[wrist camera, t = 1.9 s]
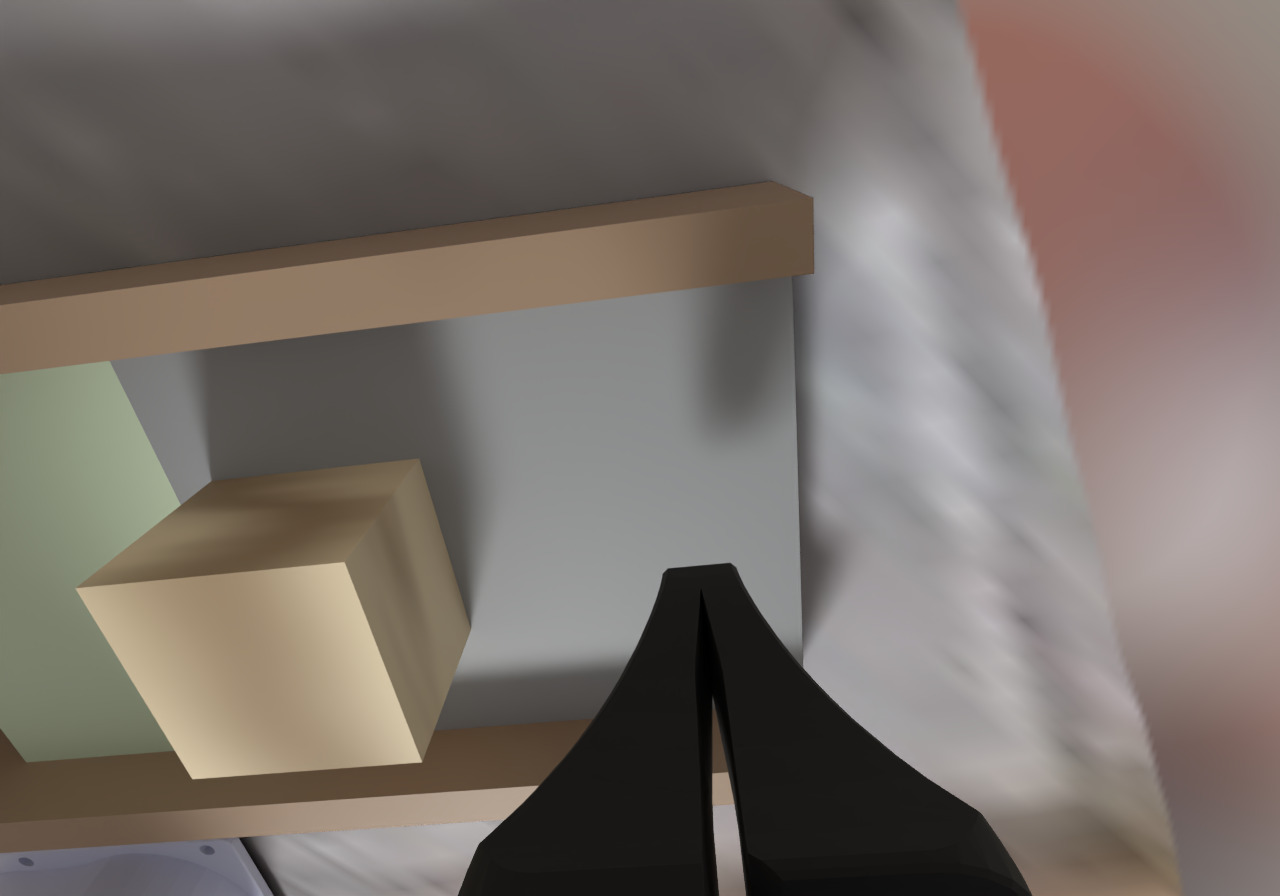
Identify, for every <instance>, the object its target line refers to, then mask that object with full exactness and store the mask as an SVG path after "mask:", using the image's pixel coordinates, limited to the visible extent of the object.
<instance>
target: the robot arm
mask: <svg viewBox="0 0 1280 896" xmlns="http://www.w3.org/2000/svg"><path fill="white" fill-rule="evenodd" d="M713 700H714V705H715V710H716V715H717V720H718V725H719V730H720V735H721V740H722V745H723V750H724V755H725V759H726V764H727V769H728V774H729V779H730V784H731V789H732V794H733V799H734V804H735V810H736V816H737V822H738V829H739V837H740V846H741V854H742V863H743V872H744V881H745V889H746V896H1032V894H1031V892H1030V890H1029V888H1028V886H1027V884H1026V882H1025V880H1024V878H1023V876H1022V875H1021V873H1020V871H1019V869H1018V868H1017V866H1016V864H1015V863H1014V861H1013V860H1012V858H1011V857H1010V855H1009V853H1008V852H1007V850H1006V849H1005V847H1004V846H1003V844H1002V842H1001V841H1000V839H999V838H998V837H997V835H996V834H995V832H994V831H993V829H992V828H991V826H990V825H989V824H988V822H987V821H986V819H985V818H984V817H983V815H982V814H981V813H980V812H979V811H977V810H976V809H974V808H973V807H971V806H969V805H968V804H966V803H965V802H963V801H962V800H960V799H959V798H957V797H955V796H954V795H952V794H951V793H949V792H948V791H946V790H945V789H943V788H941V787H940V786H938V785H937V784H935V783H934V782H932V781H931V780H929V779H927V778H926V777H925V776H923V775H922V774H921V773H919V772H918V771H917V770H915V769H914V768H913V767H911V766H910V765H909V764H907V763H906V762H905V761H903V760H902V759H901V758H899V757H898V756H896V755H895V754H894V753H893V752H892V751H890V750H889V749H888V748H887V747H886V746H884V745H883V744H882V743H881V742H880V741H878V740H877V739H876V738H875V737H874V736H873V735H871V734H870V733H869V732H868V731H867V730H865V729H864V728H863V727H862V726H861V725H859V724H858V723H857V722H856V721H855V720H854V719H852V718H851V717H850V716H849V715H848V714H847V713H846V712H845V711H844V710H843V709H842V708H841V707H840V706H839V705H838V704H837V703H836V702H835V701H834V700H832V698H831V697H830V696H829V695H828V694H827V693H826V692H825V691H824V690H823V689H822V688H821V687H820V686H819V685H818V684H817V683H816V682H815V681H814V680H813V679H812V678H811V676H810V675H809V674H808V673H807V672H806V671H805V670H804V669H803V667H802V666H801V665H800V664H799V663H798V662H797V660H796V659H795V658H794V657H793V655H792V654H791V653H790V652H789V651H788V649H787V648H786V647H785V646H784V644H783V643H782V642H781V640H780V639H779V638H778V636H777V635H776V634H775V632H774V631H773V629H772V628H771V627H770V625H769V624H768V622H767V621H766V620H765V618H764V617H763V615H762V614H761V612H760V611H759V609H758V608H757V606H756V604H755V603H754V601H753V599H752V598H751V596H750V594H749V593H748V591H747V589H746V587H745V586H744V584H743V582H742V580H741V577H740V575H739V573H738V570H737V567H735V566H734V565H733V564H732V563H721V564H710V565H699V566H688V567H677V568H668V569H667V570H666V571H665V572H664V573H663V574H662V580H661V584H660V588H659V591H658V595H657V598H656V601H655V603H654V606H653V609H652V612H651V614H650V617H649V619H648V621H647V624H646V626H645V628H644V631H643V633H642V635H641V637H640V640H639V642H638V644H637V646H636V648H635V650H634V652H633V654H632V656H631V658H630V660H629V661H628V663H627V665H626V667H625V669H624V671H623V673H622V675H621V677H620V678H619V680H618V682H617V683H616V685H615V687H614V688H613V690H612V692H611V693H610V695H609V697H608V698H607V700H606V701H605V703H604V704H603V706H602V707H601V709H600V710H599V712H598V713H597V715H596V716H595V718H594V719H593V720H592V722H591V723H590V724H589V726H588V727H587V729H586V730H585V731H584V733H583V734H582V735H581V737H580V738H579V739H578V741H577V742H576V743H575V745H574V746H573V747H572V748H571V750H570V751H569V752H568V753H567V755H566V756H565V757H564V758H563V759H562V760H561V762H560V763H559V764H558V765H557V766H556V767H555V768H554V769H553V771H552V772H551V773H550V774H549V775H548V776H547V777H546V778H545V780H544V781H543V782H542V783H541V784H540V785H539V786H538V787H537V788H536V790H535V791H534V792H533V793H532V794H531V795H530V796H529V797H528V798H527V799H526V800H525V801H524V802H523V803H522V804H521V805H520V806H519V807H518V808H517V809H516V810H515V811H514V812H513V813H512V814H511V815H510V816H508V817H507V818H506V819H505V820H504V821H503V822H502V823H501V824H500V825H499V826H498V827H497V828H496V829H495V830H494V831H493V832H492V833H490V834H489V835H488V836H487V837H486V838H485V839H484V840H483V841H482V842H480V843H479V845H478V847H477V849H476V852H475V854H474V856H473V859H472V861H471V863H470V866H469V868H468V870H467V873H466V876H465V878H464V881H463V884H462V886H461V889H460V891H459V894H458V896H719V890H718V878H717V866H716V855H715V843H714V831H713V806H712V772H713ZM0 896H274V895H273V894H272V892H271V891H270V889H269V887H268V886H267V884H266V882H265V881H264V879H263V877H262V876H261V874H260V872H259V871H258V869H257V867H256V866H255V864H254V862H253V861H252V859H251V857H250V856H249V854H248V852H247V851H246V849H245V847H244V846H243V844H242V842H241V841H240V839H239V838H238V837H235V838H220V839H205V840H190V841H175V842H160V843H145V844H130V845H115V846H100V847H85V848H70V849H55V850H40V851H25V852H10V853H0Z"/></svg>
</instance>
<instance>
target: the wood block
mask: <svg viewBox="0 0 1280 896" xmlns="http://www.w3.org/2000/svg"><path fill="white" fill-rule="evenodd" d="M75 589H76V591H77V592H78V594H79V595H80V597H81V599H82V600H83V602H84V604H85V605H86V607H87V608H88V610H89V612H90V613H91V615H92V617H93V618H94V620H95V622H96V623H97V625H98V626H99V628H100V630H101V631H102V633H103V635H104V636H105V638H106V639H107V641H108V643H109V644H110V646H111V648H112V649H113V651H114V652H115V654H116V656H117V657H118V659H119V661H120V662H121V664H122V665H123V667H124V669H125V670H126V672H127V674H128V675H129V677H130V679H131V680H132V682H133V683H134V685H135V687H136V688H137V690H138V692H139V693H140V695H141V696H142V698H143V700H144V701H145V703H146V705H147V706H148V708H149V709H150V711H151V713H152V714H153V716H154V718H155V719H156V721H157V722H158V724H159V726H160V727H161V729H162V731H163V732H164V734H165V736H166V737H167V739H168V740H169V742H170V744H171V745H172V747H173V749H174V750H175V752H176V753H177V755H178V757H179V758H180V760H181V762H182V763H183V765H184V766H185V768H186V770H187V771H188V773H189V775H190V776H191V778H192V779H204V778H217V777H231V776H244V775H258V774H272V773H285V772H299V771H312V770H326V769H339V768H353V767H366V766H380V765H394V764H407V763H421V762H423V759H424V756H425V753H426V751H427V748H428V745H429V743H430V740H431V737H432V734H433V732H434V729H435V726H436V724H437V721H438V718H439V715H440V713H441V710H442V707H443V705H444V702H445V699H446V696H447V694H448V691H449V688H450V686H451V683H452V680H453V677H454V675H455V672H456V669H457V667H458V664H459V661H460V658H461V656H462V653H463V650H464V648H465V645H466V642H467V639H468V637H469V634H470V631H471V627H470V624H469V621H468V617H467V614H466V611H465V608H464V604H463V601H462V598H461V594H460V591H459V588H458V585H457V581H456V578H455V575H454V571H453V568H452V565H451V562H450V558H449V555H448V552H447V548H446V545H445V542H444V539H443V535H442V532H441V529H440V525H439V522H438V519H437V516H436V512H435V509H434V506H433V502H432V499H431V496H430V493H429V489H428V486H427V483H426V479H425V476H424V473H423V470H422V466H421V463H420V460H419V459H410V460H401V461H392V462H383V463H373V464H364V465H355V466H346V467H336V468H327V469H318V470H309V471H300V472H290V473H281V474H272V475H263V476H253V477H244V478H235V479H226V480H217V481H211V482H210V483H208V484H207V485H206V486H205V487H203V488H202V489H201V490H199V491H198V492H197V493H196V494H194V495H193V496H192V497H191V498H189V499H188V500H187V501H186V502H184V503H183V504H182V505H180V506H179V507H178V508H177V509H175V510H174V511H173V512H172V513H170V514H169V515H168V516H166V517H165V518H164V519H163V520H161V521H160V522H159V523H158V524H156V525H155V526H154V527H152V528H151V529H150V530H149V531H147V532H146V533H145V534H144V535H142V536H141V537H140V538H139V539H137V540H136V541H135V542H133V543H132V544H131V545H130V546H128V547H127V548H126V549H125V550H123V551H122V552H121V553H119V554H118V555H117V556H116V557H114V558H113V559H112V560H111V561H109V562H108V563H107V564H106V565H104V566H103V567H102V568H100V569H99V570H98V571H97V572H95V573H94V574H93V575H92V576H90V577H89V578H88V579H86V580H85V581H84V582H83V583H81V584H80V585H79V586H78V587H76V588H75Z"/></svg>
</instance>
